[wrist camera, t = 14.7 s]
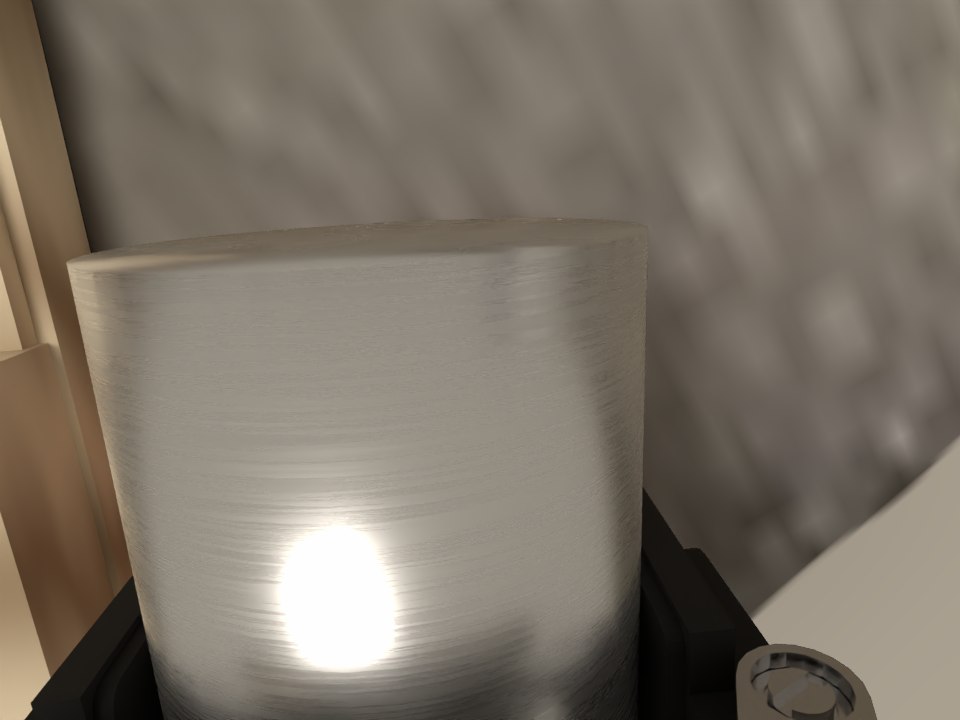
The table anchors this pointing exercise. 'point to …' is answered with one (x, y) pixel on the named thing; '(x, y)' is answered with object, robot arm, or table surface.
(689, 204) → the table surface
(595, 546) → the grey metal cylinder
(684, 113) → the table surface
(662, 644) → the robot arm
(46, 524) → the beige elongated piece
